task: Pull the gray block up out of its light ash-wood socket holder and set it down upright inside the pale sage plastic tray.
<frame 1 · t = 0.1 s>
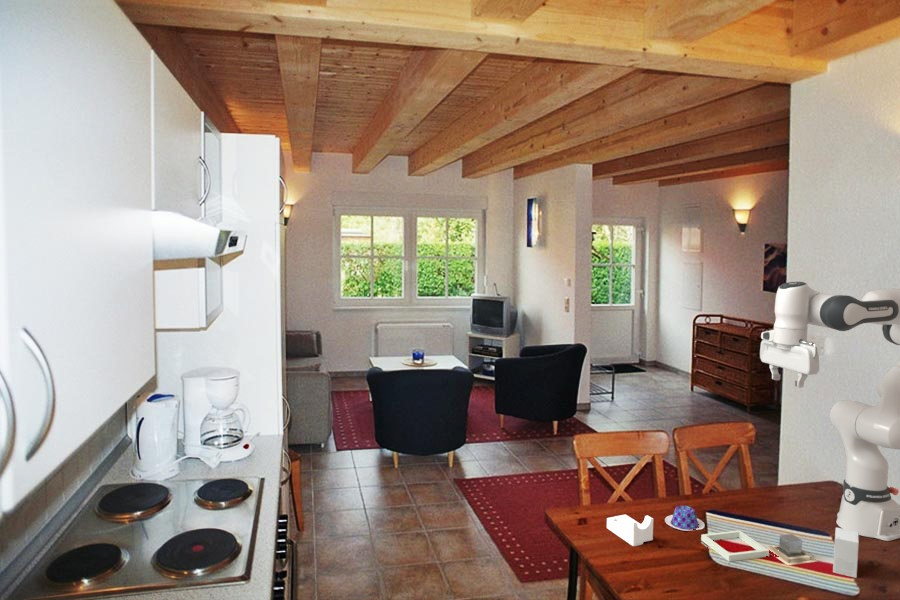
hand: (787, 383, 194), 48 cm above the table, tool pointing down, fingers open, 8 cm apart
bracket: (629, 536, 201), on the table
gray block: (790, 554, 187), point 1 cm above the table, touching socket holder
small box: (844, 572, 179), on the table
tray: (734, 550, 191), on the table
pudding: (684, 525, 209), on the table
socket holder: (789, 557, 187), on the table
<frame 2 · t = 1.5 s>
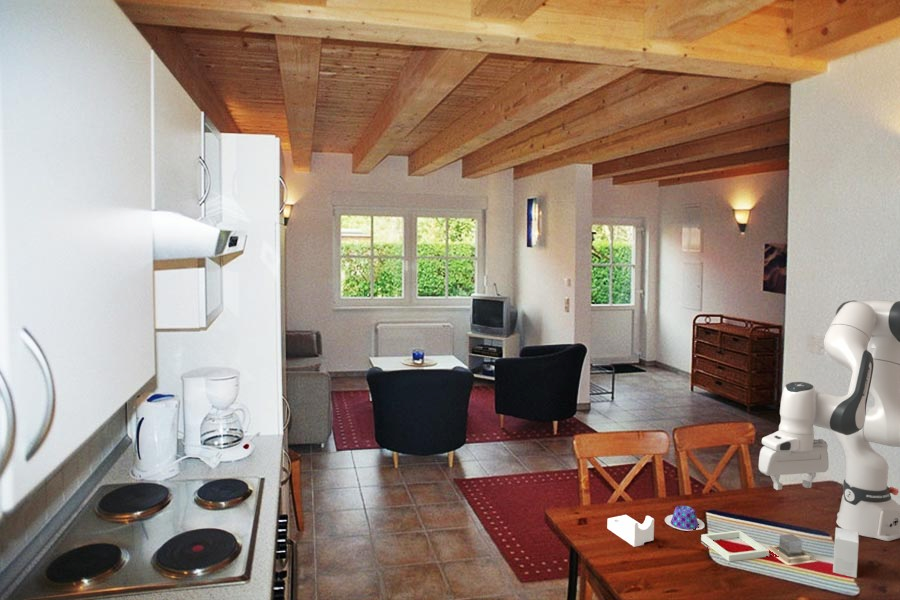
hand: (792, 488, 185), 20 cm above the table, tool pointing down, fingers open, 8 cm apart
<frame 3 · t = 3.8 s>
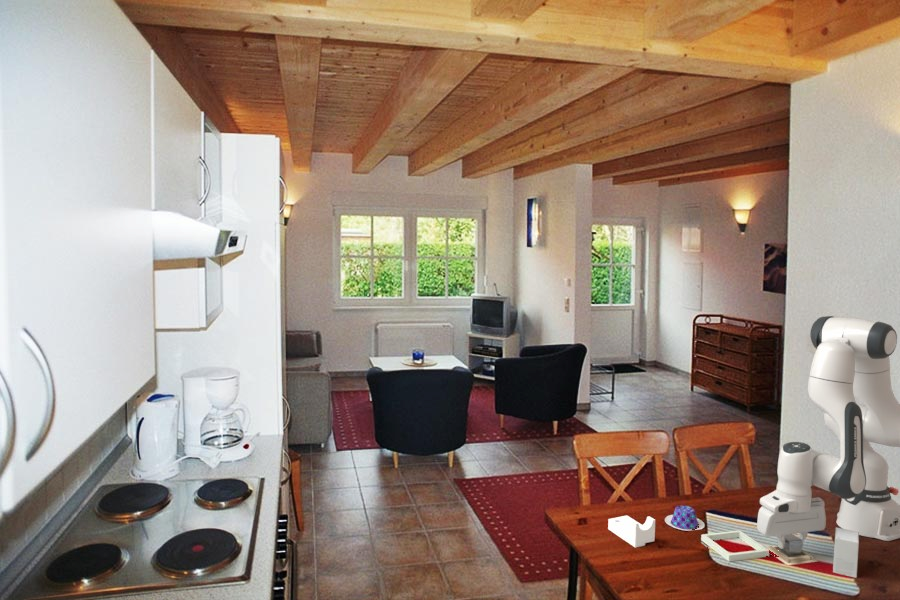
hand: (790, 546, 187), 3 cm above the table, tool pointing down, fingers closed on gray block, 4 cm apart
gray block: (790, 554, 187), point 1 cm above the table, touching gripper, socket holder
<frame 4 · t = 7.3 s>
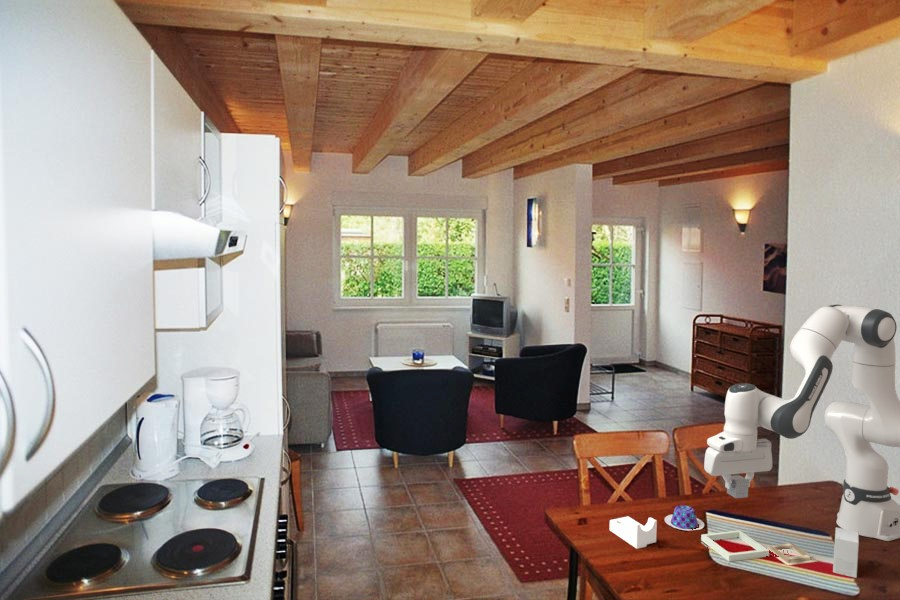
hand: (737, 487, 189), 19 cm above the table, tool pointing down, fingers closed on gray block, 4 cm apart
gray block: (737, 494, 189), point 17 cm above the table, touching gripper
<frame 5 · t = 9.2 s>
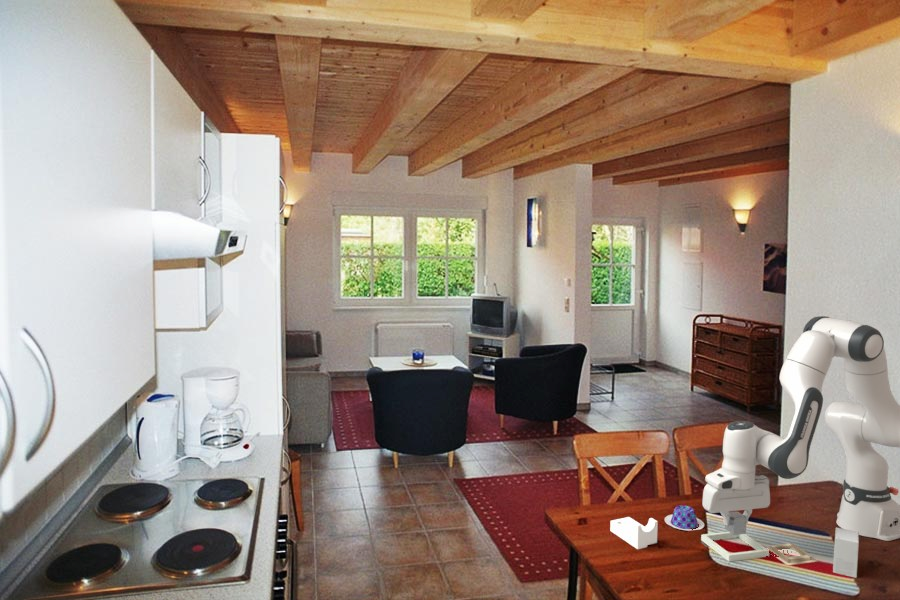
hand: (735, 523, 190), 8 cm above the table, tool pointing down, fingers closed on gray block, 4 cm apart
gray block: (735, 531, 190), point 6 cm above the table, touching gripper
when the fingers open (5 cm above the table, at t = 10.7 s): gray block drops 2 cm, resting on tray.
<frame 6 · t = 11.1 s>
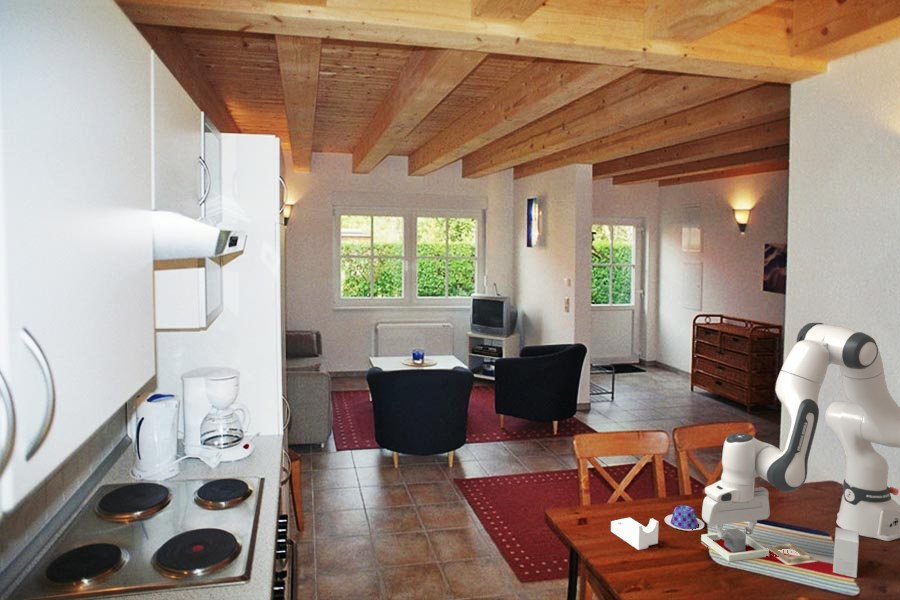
hand: (735, 535, 191), 5 cm above the table, tool pointing down, fingers open, 8 cm apart
gray block: (734, 548, 191), point 1 cm above the table, touching tray
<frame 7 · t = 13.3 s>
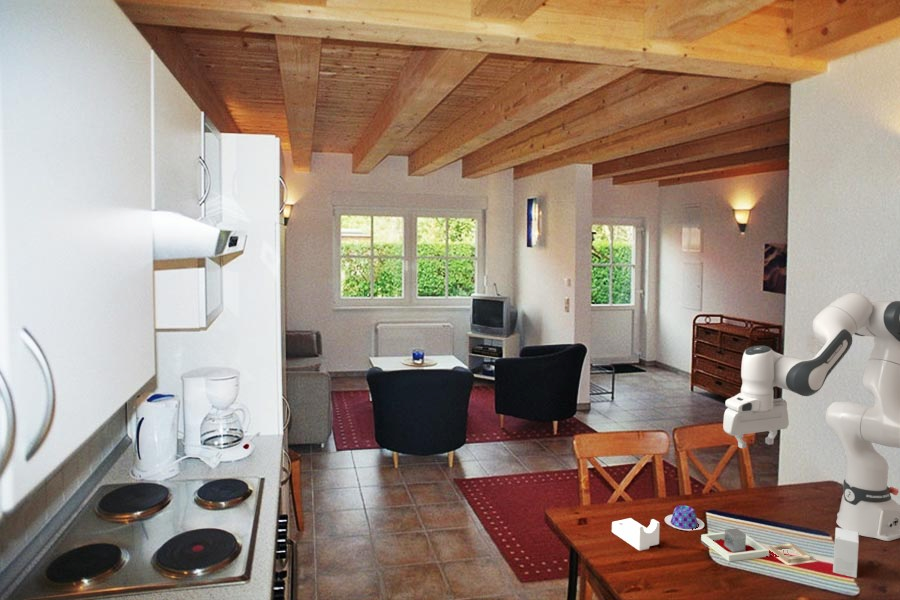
hand: (755, 445, 196), 29 cm above the table, tool pointing down, fingers open, 8 cm apart
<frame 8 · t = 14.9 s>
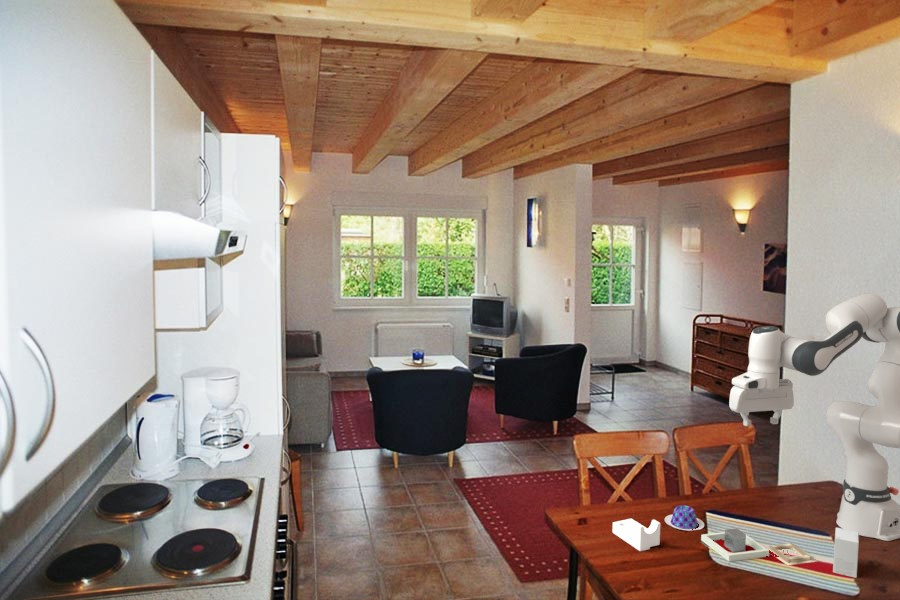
hand: (760, 424, 199), 34 cm above the table, tool pointing down, fingers open, 8 cm apart
at the end: gray block inside the target area on the tray (0.1 cm from its centre), point 0.6 cm above the tray's base; gray block tilted 0°; the gripper is holding nothing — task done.
